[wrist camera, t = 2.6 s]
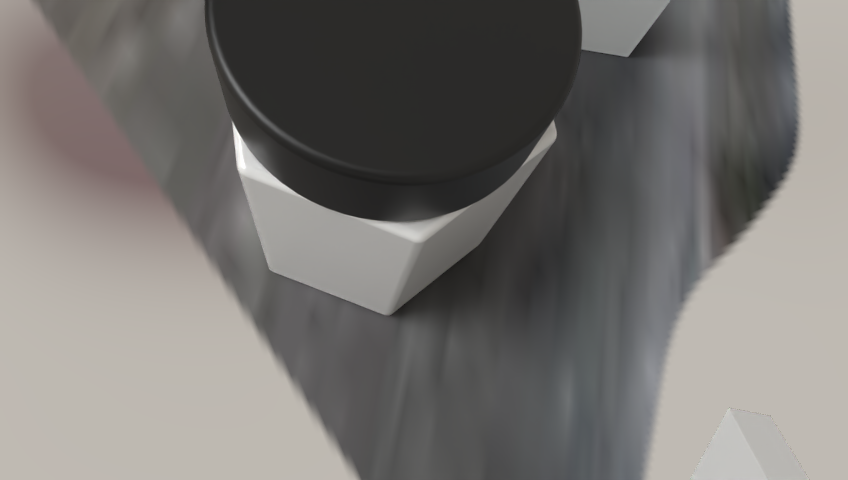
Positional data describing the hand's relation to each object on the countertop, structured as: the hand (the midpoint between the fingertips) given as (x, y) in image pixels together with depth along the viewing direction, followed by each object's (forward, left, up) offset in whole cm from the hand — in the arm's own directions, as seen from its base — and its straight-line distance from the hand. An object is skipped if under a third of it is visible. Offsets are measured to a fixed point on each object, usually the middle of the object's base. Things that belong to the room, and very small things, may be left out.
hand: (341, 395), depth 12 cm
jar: (-5, +6, -12) cm, 15 cm away
